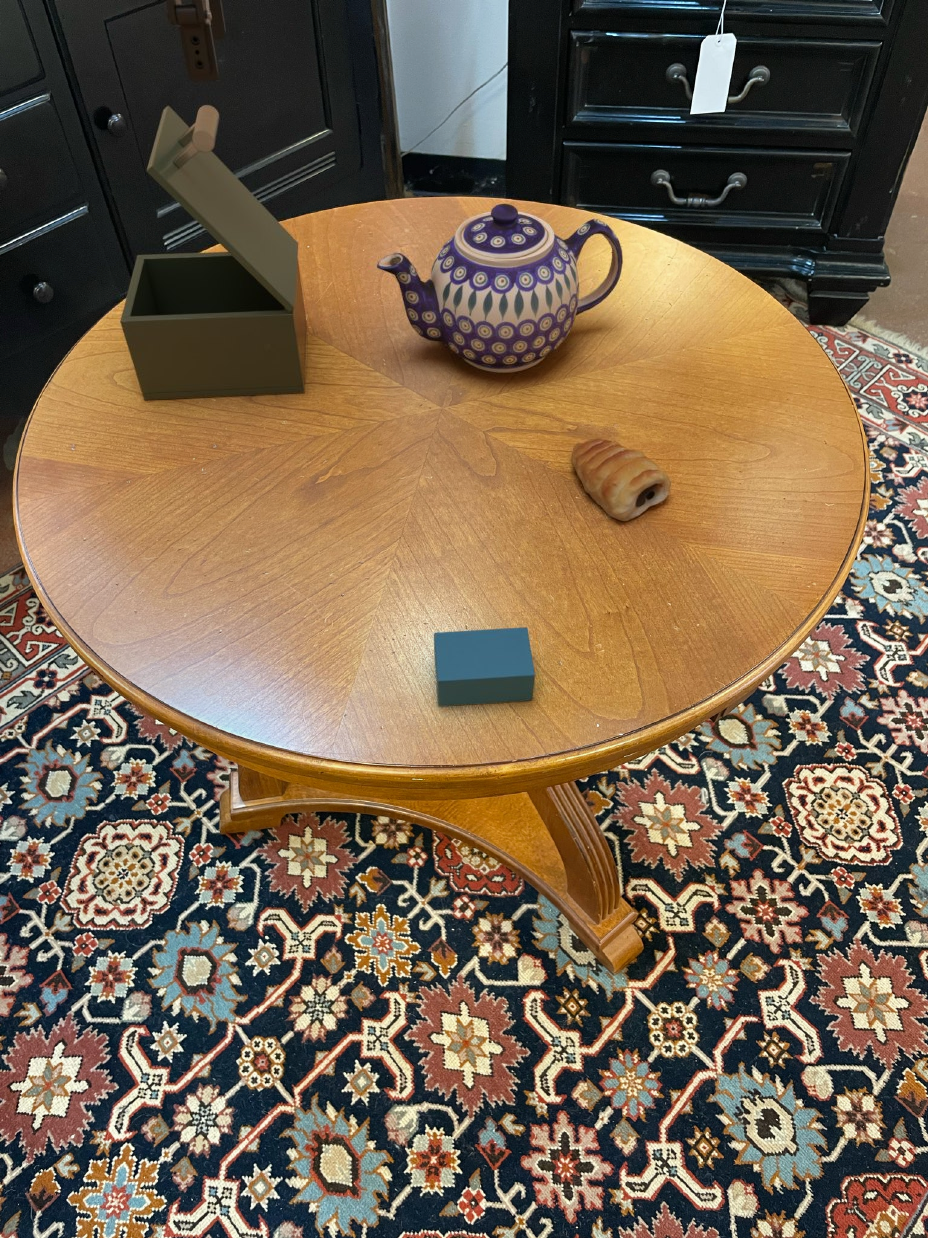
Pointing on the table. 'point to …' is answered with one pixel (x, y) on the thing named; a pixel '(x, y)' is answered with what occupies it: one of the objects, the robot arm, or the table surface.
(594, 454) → the pastry
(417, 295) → the teapot
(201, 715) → the table surface
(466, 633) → the blue rectangular block
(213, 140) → the lid
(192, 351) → the bin
